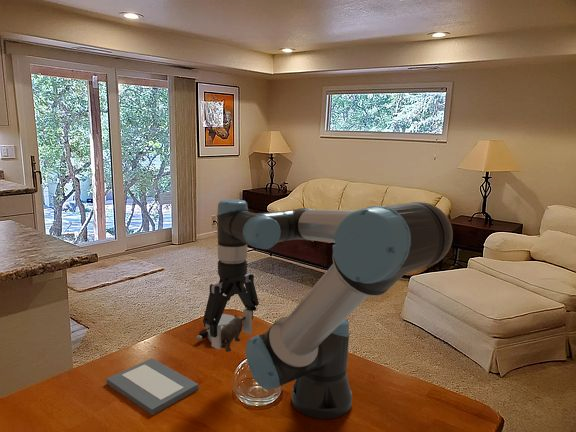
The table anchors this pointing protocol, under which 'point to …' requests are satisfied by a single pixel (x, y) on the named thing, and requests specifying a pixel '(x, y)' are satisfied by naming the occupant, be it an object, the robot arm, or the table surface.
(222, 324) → the robot toy
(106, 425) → the table surface
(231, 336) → the rhino figurine
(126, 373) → the display plate
